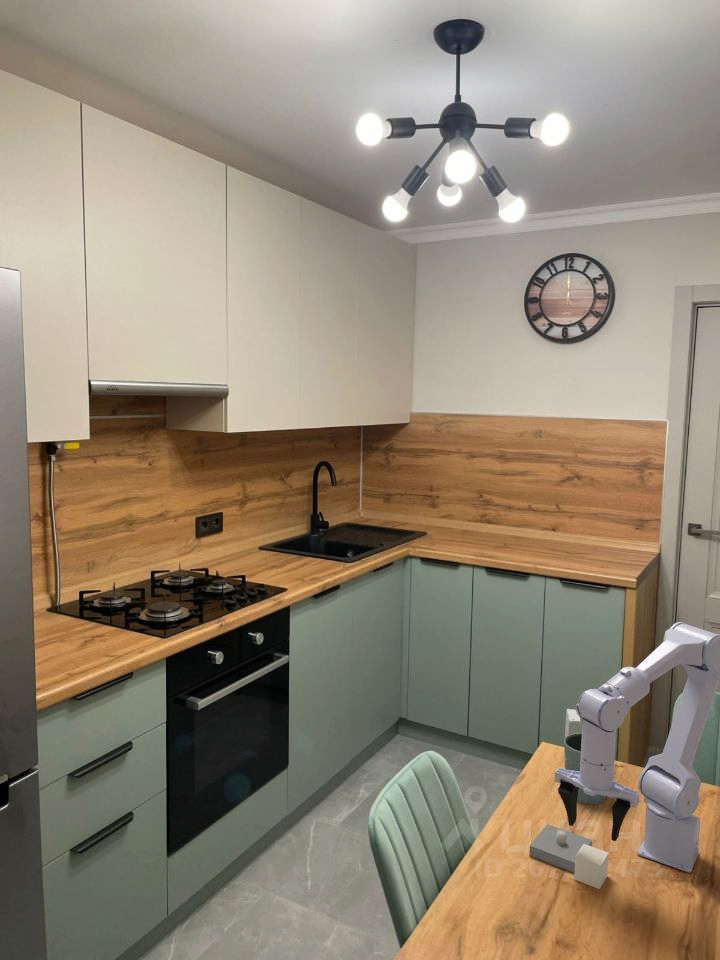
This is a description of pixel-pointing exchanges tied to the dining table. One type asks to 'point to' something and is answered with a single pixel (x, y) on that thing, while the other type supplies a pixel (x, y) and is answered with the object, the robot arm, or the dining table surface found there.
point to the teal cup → (578, 766)
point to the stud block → (558, 847)
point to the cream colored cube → (591, 866)
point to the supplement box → (572, 724)
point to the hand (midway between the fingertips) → (593, 830)
